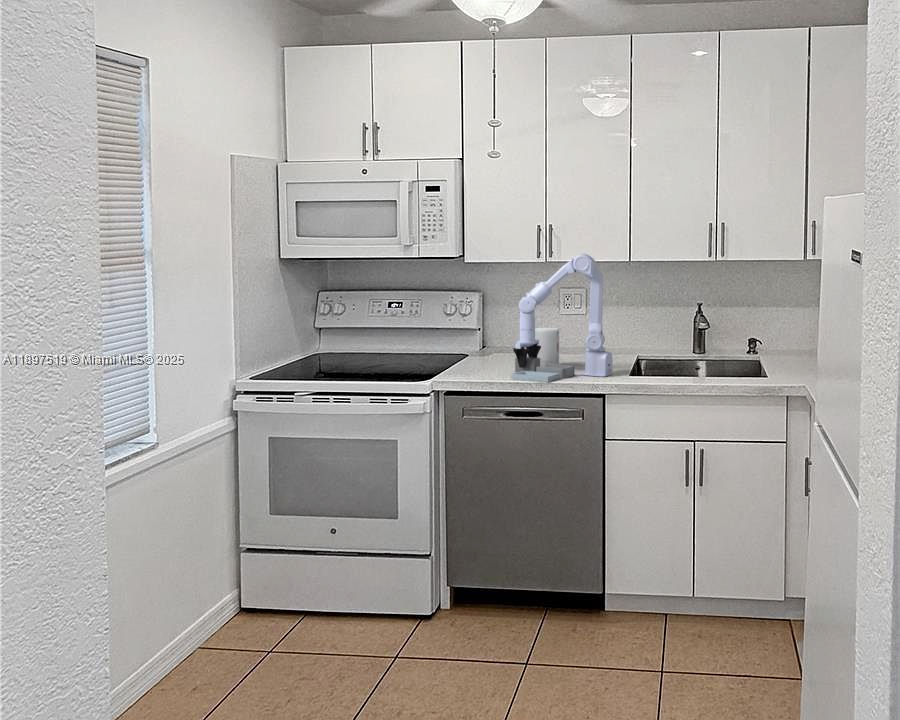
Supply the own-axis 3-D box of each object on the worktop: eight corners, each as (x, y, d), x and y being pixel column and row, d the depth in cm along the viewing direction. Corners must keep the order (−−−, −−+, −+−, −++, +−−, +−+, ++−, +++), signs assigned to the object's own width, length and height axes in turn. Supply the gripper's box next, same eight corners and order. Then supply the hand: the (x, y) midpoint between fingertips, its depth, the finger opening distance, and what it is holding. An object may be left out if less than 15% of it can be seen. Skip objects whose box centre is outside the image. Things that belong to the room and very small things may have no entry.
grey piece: (557, 369, 433) (557, 330, 431) (533, 369, 434) (533, 329, 432) (559, 366, 441) (559, 327, 439) (536, 366, 443) (536, 327, 441)
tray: (559, 379, 409) (559, 373, 409) (547, 382, 402) (547, 376, 402) (523, 376, 417) (523, 370, 417) (511, 379, 410) (511, 373, 409)
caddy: (540, 374, 423) (540, 356, 422) (534, 375, 419) (534, 357, 418) (521, 372, 427) (521, 354, 426) (515, 374, 423) (515, 356, 422)
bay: (574, 375, 418) (574, 365, 417) (563, 378, 411) (563, 368, 410) (547, 373, 423) (547, 363, 423) (536, 376, 416) (536, 366, 416)
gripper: (527, 326, 429) (527, 363, 431) (507, 330, 417) (507, 367, 419) (544, 327, 425) (543, 364, 427) (525, 331, 413) (525, 369, 415)
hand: (527, 366), depth 423 cm, fingers open, 7 cm apart
